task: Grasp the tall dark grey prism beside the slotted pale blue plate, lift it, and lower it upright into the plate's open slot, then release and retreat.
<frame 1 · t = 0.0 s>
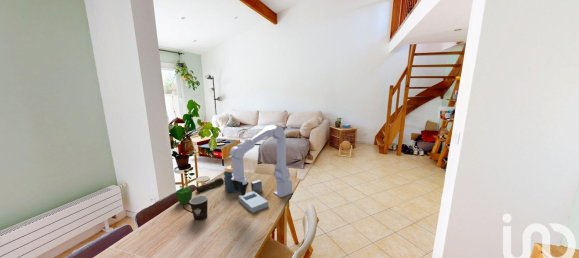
hand: (240, 192, 115), 10 cm above the table, fingers open, 7 cm apart
slotted pale blue plate: (253, 203, 123), on the table
coffee mug: (198, 217, 111), on the table
bell pepper: (185, 202, 127), on the table
canister: (234, 188, 142), on the table
hand tool: (210, 187, 145), on the table
tall dark grey prism: (256, 191, 137), on the table
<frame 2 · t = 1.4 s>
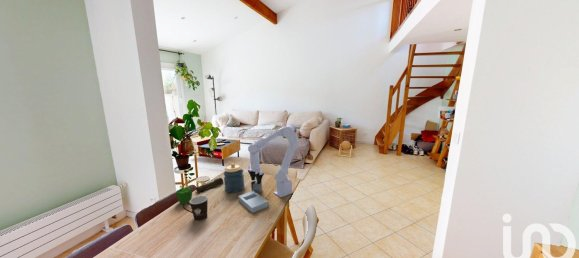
hand: (256, 181, 136), 7 cm above the table, fingers open, 7 cm apart
nothing on the table moved.
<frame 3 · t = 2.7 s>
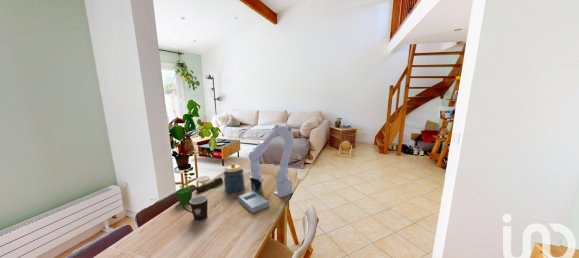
hand: (256, 188, 137), 2 cm above the table, fingers closed on tall dark grey prism, 3 cm apart
tall dark grey prism: (256, 191, 137), on the table, touching gripper
everything else where it was.
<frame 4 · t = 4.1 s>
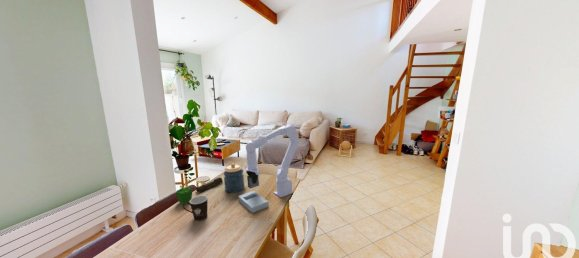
hand: (253, 182, 130), 9 cm above the table, fingers closed on tall dark grey prism, 3 cm apart
tall dark grey prism: (253, 186, 130), point 6 cm above the table, touching gripper
everything else where it was.
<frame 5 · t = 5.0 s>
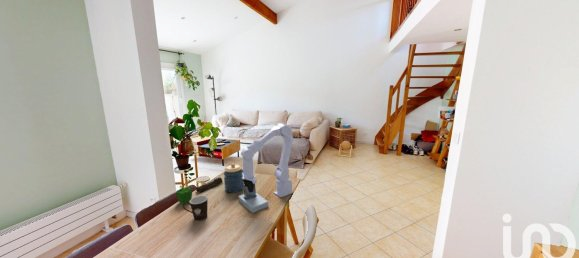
hand: (249, 190, 124), 7 cm above the table, fingers closed on tall dark grey prism, 3 cm apart
tall dark grey prism: (250, 195, 124), point 4 cm above the table, touching gripper
everything else where it was.
when the fingers open (4 cm above the table, at t = 5.8 s): tall dark grey prism stays where it is, resting in slotted pale blue plate.
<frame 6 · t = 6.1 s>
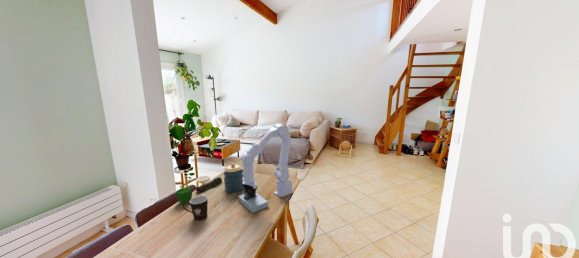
hand: (250, 195, 124), 4 cm above the table, fingers open, 5 cm apart
tall dark grey prism: (250, 201, 125), resting in slotted pale blue plate
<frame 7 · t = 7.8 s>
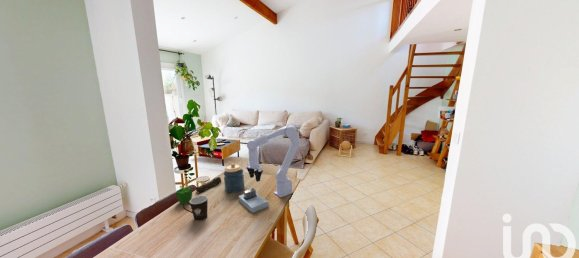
hand: (255, 179, 133), 9 cm above the table, fingers open, 7 cm apart
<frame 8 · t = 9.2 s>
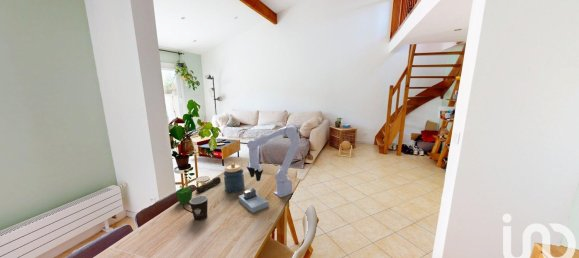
hand: (255, 178, 134), 9 cm above the table, fingers open, 7 cm apart
at the end: tall dark grey prism 0.1 cm from the target spot on the slotted pale blue plate, point 0.0 cm above the slotted pale blue plate's base; tall dark grey prism tilted 0°; the gripper is holding nothing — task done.
